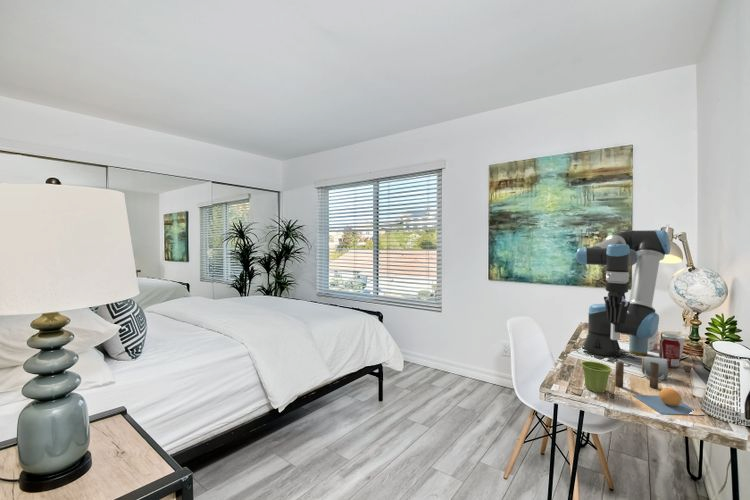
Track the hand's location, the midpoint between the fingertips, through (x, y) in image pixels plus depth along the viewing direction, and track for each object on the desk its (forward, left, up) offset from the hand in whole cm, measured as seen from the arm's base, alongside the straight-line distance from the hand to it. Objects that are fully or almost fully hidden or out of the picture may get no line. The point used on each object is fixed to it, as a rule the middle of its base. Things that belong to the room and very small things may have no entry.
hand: (615, 339), depth 140 cm
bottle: (-28, -27, -14) cm, 41 cm away
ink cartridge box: (-38, -35, -14) cm, 54 cm away
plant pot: (+17, +16, -14) cm, 27 cm away
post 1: (+6, +13, -14) cm, 20 cm away
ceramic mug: (-14, +3, -14) cm, 20 cm away
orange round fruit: (-1, +27, -11) cm, 29 cm away
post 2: (-6, +13, -14) cm, 20 cm away
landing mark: (0, +27, -14) cm, 30 cm away
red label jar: (-41, -23, -14) cm, 49 cm away
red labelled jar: (-30, -11, -14) cm, 35 cm away
